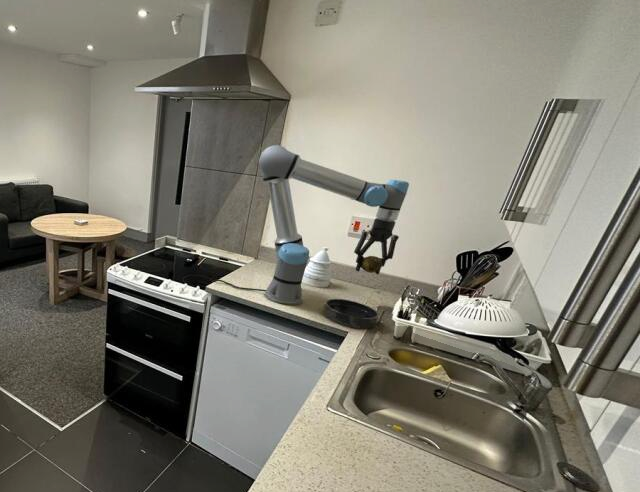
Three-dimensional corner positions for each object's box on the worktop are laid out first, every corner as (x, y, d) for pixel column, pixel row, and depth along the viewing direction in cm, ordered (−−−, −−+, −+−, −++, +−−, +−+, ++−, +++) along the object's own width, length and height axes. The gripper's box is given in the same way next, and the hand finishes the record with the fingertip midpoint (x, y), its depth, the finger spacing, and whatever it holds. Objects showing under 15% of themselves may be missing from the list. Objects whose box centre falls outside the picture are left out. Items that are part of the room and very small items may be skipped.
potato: (377, 271, 174) (383, 253, 171) (378, 278, 163) (385, 260, 160) (356, 266, 177) (362, 249, 174) (356, 273, 167) (362, 255, 164)
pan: (328, 324, 151) (331, 313, 149) (318, 305, 168) (320, 295, 167) (382, 333, 148) (386, 322, 146) (366, 312, 165) (369, 303, 163)
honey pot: (306, 276, 205) (315, 243, 198) (332, 284, 197) (342, 249, 190) (296, 281, 196) (306, 246, 189) (322, 289, 188) (333, 253, 181)
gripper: (362, 217, 159) (344, 270, 168) (416, 224, 156) (395, 278, 165) (356, 214, 166) (340, 265, 175) (408, 220, 163) (388, 272, 172)
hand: (366, 271), depth 170 cm, fingers closed on potato, 7 cm apart
